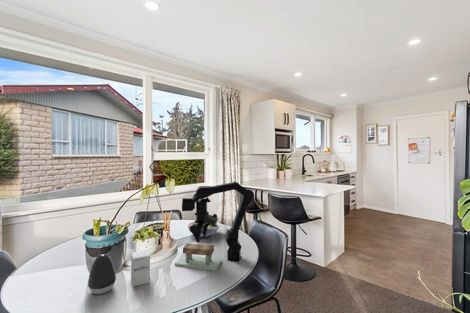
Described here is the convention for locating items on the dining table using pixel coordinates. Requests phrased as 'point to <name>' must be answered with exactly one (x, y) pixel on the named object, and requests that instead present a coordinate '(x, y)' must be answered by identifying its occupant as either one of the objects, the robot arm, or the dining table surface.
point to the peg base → (198, 262)
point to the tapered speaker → (102, 275)
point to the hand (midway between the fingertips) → (201, 239)
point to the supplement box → (140, 268)
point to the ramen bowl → (210, 229)
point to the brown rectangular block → (198, 249)
